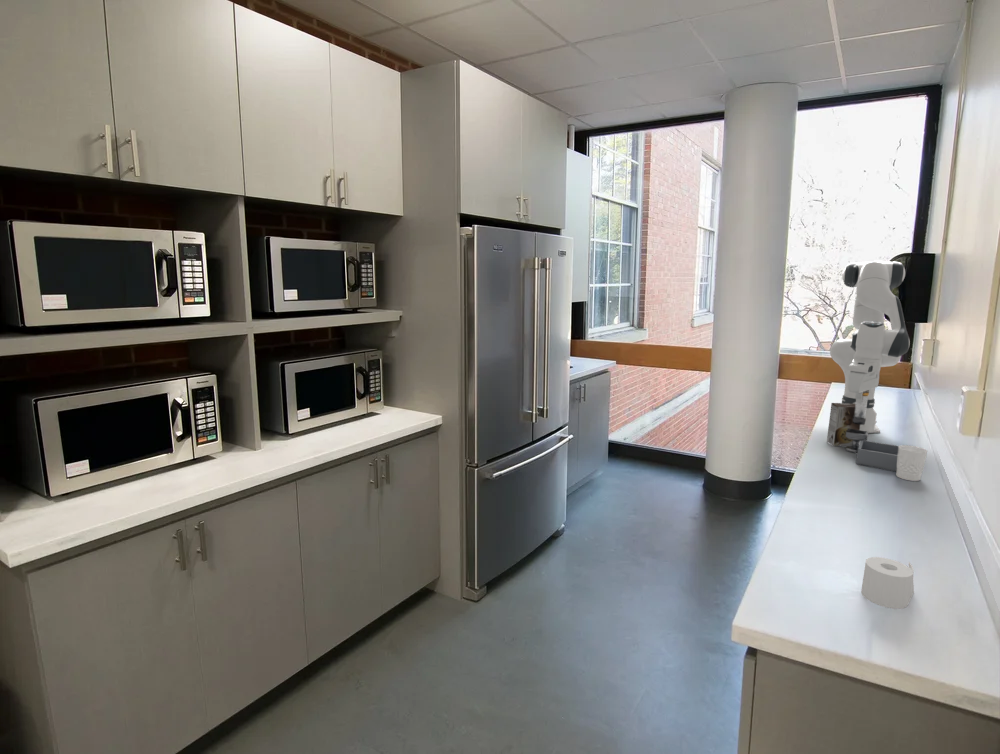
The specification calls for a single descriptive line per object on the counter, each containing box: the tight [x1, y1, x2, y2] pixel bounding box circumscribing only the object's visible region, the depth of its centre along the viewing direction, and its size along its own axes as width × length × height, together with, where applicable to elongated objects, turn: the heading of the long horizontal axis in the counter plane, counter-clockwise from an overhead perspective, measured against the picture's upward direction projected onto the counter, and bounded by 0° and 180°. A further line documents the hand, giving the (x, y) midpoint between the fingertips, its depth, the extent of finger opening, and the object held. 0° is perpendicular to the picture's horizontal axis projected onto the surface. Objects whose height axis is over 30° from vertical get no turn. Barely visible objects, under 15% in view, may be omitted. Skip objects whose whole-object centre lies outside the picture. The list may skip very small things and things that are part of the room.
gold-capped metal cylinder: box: [852, 391, 869, 425], centre depth 219 cm, size 4×4×12 cm
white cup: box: [895, 444, 928, 482], centre depth 193 cm, size 8×8×10 cm
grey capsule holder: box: [845, 428, 869, 454], centre depth 221 cm, size 7×7×8 cm
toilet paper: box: [860, 556, 915, 610], centre depth 121 cm, size 8×11×7 cm
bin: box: [855, 440, 899, 472], centre depth 207 cm, size 15×15×6 cm
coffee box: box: [826, 402, 860, 448], centre depth 229 cm, size 9×6×16 cm
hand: (861, 401), depth 218 cm, fingers closed on gold-capped metal cylinder, 4 cm apart
